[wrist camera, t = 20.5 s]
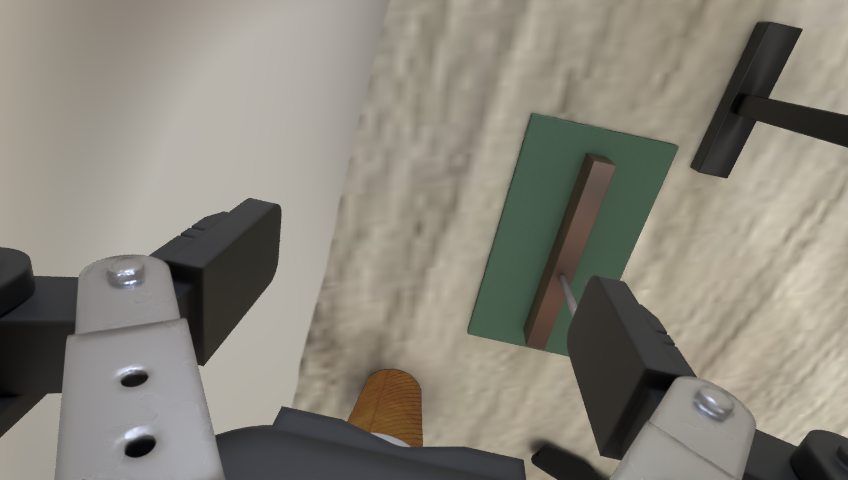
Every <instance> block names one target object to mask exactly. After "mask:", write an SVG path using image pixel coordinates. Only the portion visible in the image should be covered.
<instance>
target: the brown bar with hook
mask: <svg viewBox="0 0 848 480" xmlns="http://www.w3.org/2000/svg"><path fill="white" fill-rule="evenodd" d="M616 167H617V165H615V164H614V163H613V162H612V161H611V160H610V159H609V158H608V157H603V156H599V155H594V154H590V153H586V155H585V158H584V161H583V164H582V167H581V169H580V172H579V175H578V178H577V181H576V183H575V186H574V189H573V192H572V194H571V197H570V200H569V203H568V206H567V208H566V211H565V214H564V217H563V220H562V222H561V225H560V228H559V231H558V233H557V236H556V239H555V242H554V245H553V247H552V250H551V253H550V256H549V259H548V261H547V264H546V267H545V270H544V272H543V275H542V278H541V281H540V284H539V286H538V289H537V292H536V295H535V298H534V300H533V303H532V306H531V309H530V311H529V314H528V317H527V320H526V323H525V325H524V328H523V332H524V337H525V343H526V346H529V347H534V348H538V349H543V350H545V347H546V345H547V342H548V340H549V337H550V335H551V332H552V330H553V327H554V324H555V322H556V319H557V317H558V314H559V312H560V309H561V307H562V304H563V302H564V299H565V298H566V300H567V303H568V306H569V309H570V311H571V314H572V317H573V316H574V313H575V311H576V309H577V304H576V302H575V299H574V297H573V294H572V292H571V289H570V287H569V286H570V284H571V281H572V279H573V276H574V274H575V271H576V268H577V266H578V263H579V261H580V258H581V256H582V253H583V251H584V248H585V246H586V243H587V240H588V238H589V235H590V233H591V230H592V228H593V225H594V223H595V220H596V218H597V215H598V213H599V210H600V207H601V205H602V202H603V200H604V197H605V195H606V192H607V190H608V187H609V185H610V182H611V179H612V177H613V174H614V172H615V169H616ZM587 282H588V281H585V282H584V287H586V284H587Z"/></svg>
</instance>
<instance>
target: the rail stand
mask: <svg viewBox="0 0 848 480" xmlns="http://www.w3.org/2000/svg"><path fill="white" fill-rule="evenodd" d="M802 30H803V29H801V28H796V27H792V26H787V25H783V24H778V23H774V22H758V23H757V25H756V27H755V29H754V31H753V33H752V36H751V38H750V40H749V42H748V44H747V46H746V49H745V51H744V53H743V55H742V57H741V59H740V61H739V64H738V66H737V68H736V70H735V72H734V74H733V77H732V79H731V81H730V83H729V85H728V87H727V89H726V92H725V94H724V96H723V98H722V100H721V102H720V105H719V107H718V109H717V111H716V113H715V115H714V117H713V120H712V122H711V124H710V126H709V128H708V130H707V132H706V135H705V137H704V139H703V141H702V143H701V145H700V148H699V150H698V152H697V154H696V156H695V158H694V160H693V163H692V165H691V168H692V169H694V170H696V171H697V172H700V173H704V174H709V175H713V176H718V177H722V178H728V176H729V174H730V172H731V170H732V168H733V166H734V164H735V163H736V161H737V159H738V157H739V155H740V153H741V151H742V149H743V147H744V145H745V143H746V141H747V139H748V137H749V135H750V133H751V131H752V129H753V127H754V125H755V123H756V121H760V122H763V123H767V124H770V125H773V126H777V127H780V128H783V129H787V130H790V131H794V132H797V133H800V134H804V135H807V136H810V137H814V138H817V139H820V140H824V141H827V142H831V143H834V144H837V145H841V146H844V147H847V148H848V115H844V114H839V113H834V112H830V111H825V110H820V109H815V108H811V107H806V106H801V105H796V104H792V103H787V102H782V101H778V100H773V99H768V97H769V95H770V93H771V91H772V89H773V87H774V85H775V83H776V82H777V80H778V78H779V76H780V74H781V72H782V70H783V68H784V66H785V64H786V62H787V60H788V58H789V56H790V54H791V52H792V50H793V48H794V46H795V44H796V42H797V40H798V38H799V36H800V34H801V32H802Z"/></svg>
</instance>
